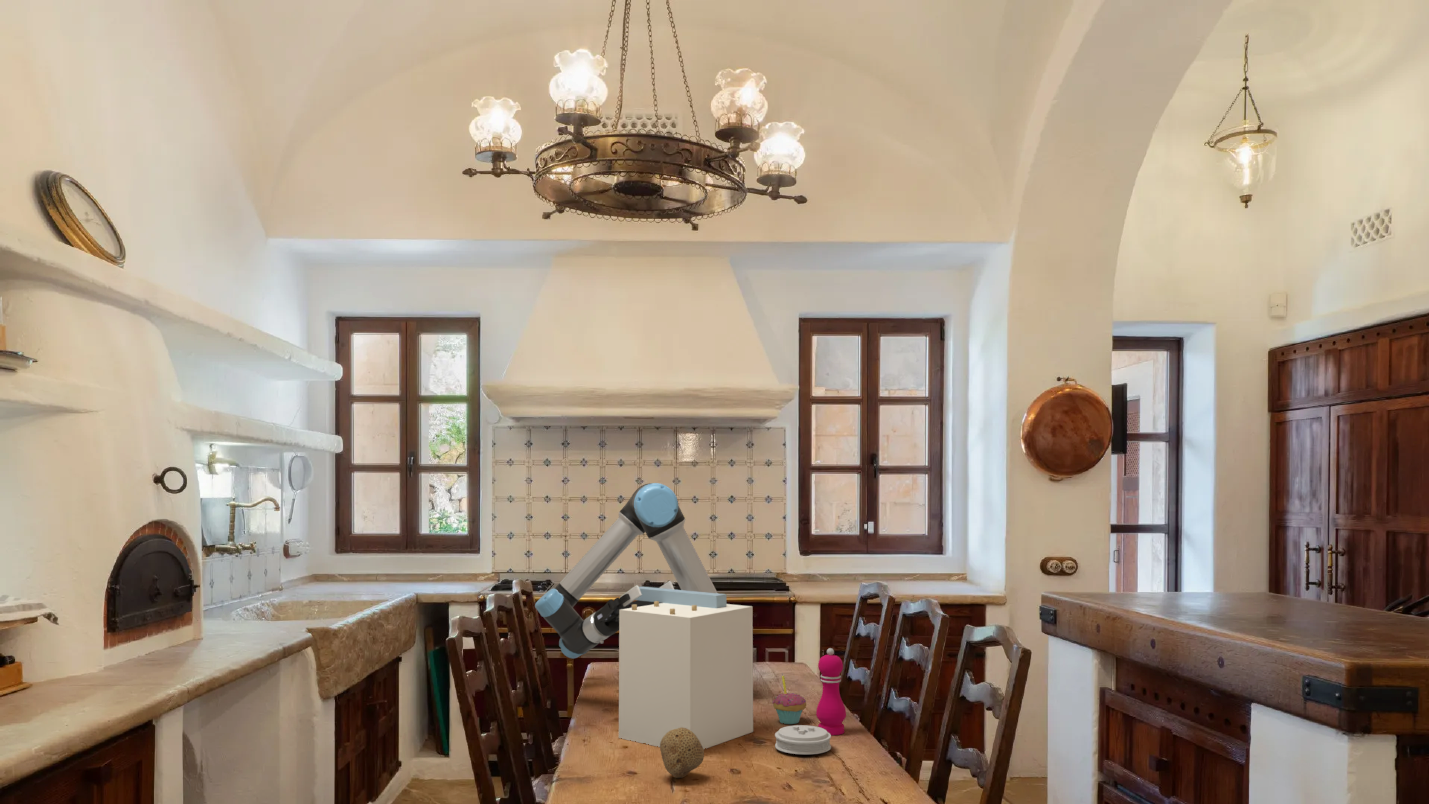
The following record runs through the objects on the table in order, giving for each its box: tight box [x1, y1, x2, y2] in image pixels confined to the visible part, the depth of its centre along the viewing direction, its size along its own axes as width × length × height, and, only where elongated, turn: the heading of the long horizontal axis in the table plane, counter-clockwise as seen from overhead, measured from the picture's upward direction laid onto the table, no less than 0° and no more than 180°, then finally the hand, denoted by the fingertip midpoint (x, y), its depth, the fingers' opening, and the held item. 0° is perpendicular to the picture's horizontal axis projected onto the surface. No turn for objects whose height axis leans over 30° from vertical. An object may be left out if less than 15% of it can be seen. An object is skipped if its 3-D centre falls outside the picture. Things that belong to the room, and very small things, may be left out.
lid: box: [774, 724, 832, 755], centre depth 219 cm, size 13×13×5 cm
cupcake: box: [771, 672, 807, 725], centre depth 244 cm, size 9×8×12 cm
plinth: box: [618, 601, 754, 750], centre depth 233 cm, size 22×24×31 cm
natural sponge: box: [659, 727, 705, 779], centre depth 199 cm, size 9×9×10 cm
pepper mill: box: [815, 647, 847, 736], centre depth 235 cm, size 7×7×20 cm
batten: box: [634, 586, 727, 608], centre depth 244 cm, size 28×4×3 cm, turn 52°
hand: (655, 587), depth 248 cm, fingers open, 12 cm apart
